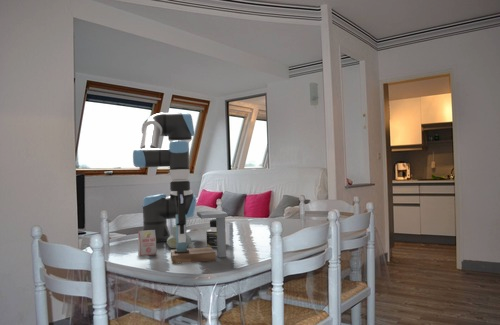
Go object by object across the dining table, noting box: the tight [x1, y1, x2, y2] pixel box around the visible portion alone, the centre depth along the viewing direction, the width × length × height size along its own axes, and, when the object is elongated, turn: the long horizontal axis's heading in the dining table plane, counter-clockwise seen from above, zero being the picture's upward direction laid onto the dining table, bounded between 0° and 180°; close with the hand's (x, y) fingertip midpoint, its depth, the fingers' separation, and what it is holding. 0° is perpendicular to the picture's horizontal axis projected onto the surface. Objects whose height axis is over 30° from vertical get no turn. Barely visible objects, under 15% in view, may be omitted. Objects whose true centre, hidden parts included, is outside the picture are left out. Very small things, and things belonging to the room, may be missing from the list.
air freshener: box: [166, 224, 192, 250], centre depth 179 cm, size 11×8×10 cm
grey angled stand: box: [196, 209, 229, 258], centre depth 155 cm, size 14×10×18 cm
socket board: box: [170, 246, 216, 265], centre depth 153 cm, size 12×16×3 cm
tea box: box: [137, 230, 157, 257], centre depth 165 cm, size 4×7×10 cm, turn 115°
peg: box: [175, 214, 188, 252], centre depth 152 cm, size 4×4×14 cm
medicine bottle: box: [205, 218, 228, 248], centre depth 181 cm, size 7×7×12 cm
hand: (181, 241), depth 152 cm, fingers closed on peg, 4 cm apart
